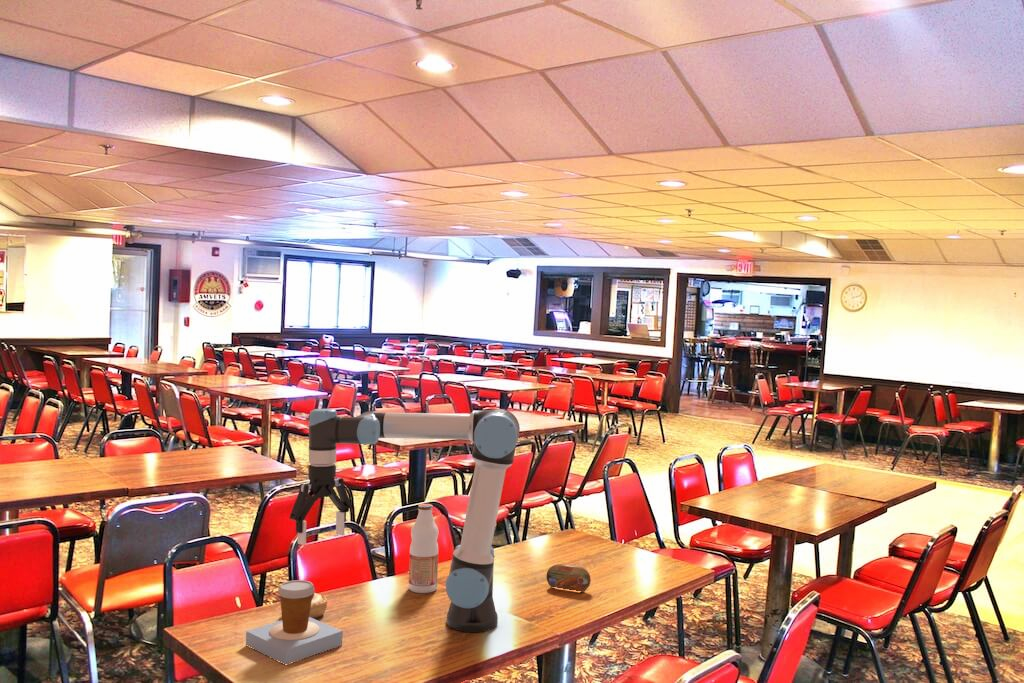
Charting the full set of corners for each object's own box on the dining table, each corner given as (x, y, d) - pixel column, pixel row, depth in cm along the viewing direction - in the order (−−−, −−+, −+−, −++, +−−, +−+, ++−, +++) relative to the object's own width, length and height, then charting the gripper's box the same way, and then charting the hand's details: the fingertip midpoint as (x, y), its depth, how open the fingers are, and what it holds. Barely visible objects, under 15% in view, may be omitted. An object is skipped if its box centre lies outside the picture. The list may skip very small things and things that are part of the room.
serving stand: (342, 645, 218) (342, 629, 218) (285, 665, 204) (286, 648, 204) (301, 627, 229) (302, 612, 229) (245, 645, 215) (246, 629, 215)
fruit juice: (418, 595, 260) (421, 509, 259) (403, 587, 267) (405, 504, 266) (442, 590, 266) (445, 506, 265) (426, 582, 273) (429, 500, 272)
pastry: (305, 626, 232) (306, 596, 231) (277, 617, 238) (277, 587, 237) (335, 613, 242) (335, 584, 241) (307, 604, 248) (307, 576, 247)
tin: (545, 588, 272) (546, 563, 272) (548, 585, 275) (549, 561, 275) (588, 595, 266) (589, 570, 266) (591, 592, 269) (592, 567, 269)
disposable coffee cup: (303, 638, 211) (305, 592, 211) (270, 633, 213) (271, 588, 213) (319, 625, 220) (320, 581, 220) (287, 621, 222) (288, 578, 222)
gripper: (347, 457, 238) (346, 528, 238) (276, 468, 218) (276, 546, 218) (364, 460, 233) (363, 532, 234) (294, 471, 213) (293, 551, 214)
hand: (321, 539), depth 226 cm, fingers open, 13 cm apart
